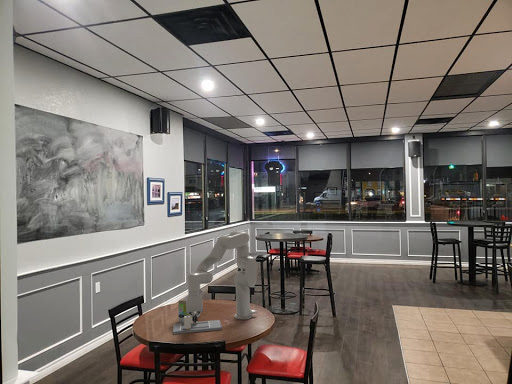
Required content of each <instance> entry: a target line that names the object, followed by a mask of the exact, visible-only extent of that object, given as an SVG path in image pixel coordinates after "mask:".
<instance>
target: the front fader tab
mask: <svg viewBox="0 0 512 384" xmlns="http://www.w3.org/2000/svg"><path fill="white" fill-rule="evenodd" d="M190 328H191V316H188V315H187V316H184V329H190Z"/></svg>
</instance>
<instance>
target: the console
mask: <svg viewBox="0 0 512 384" xmlns="http://www.w3.org/2000/svg"><path fill="white" fill-rule="evenodd" d="M222 329H223V326H222V323H221V319H217V320H216V319H214V320H205V321H203V320H202V321H197V324H191V328H190V329H184V323H182V322H178V323H174V324H173V328H172V335H179V334H189V333H190V334H191V333H201V332H202V333H203V332H211V331H212V332H213V331H221V330H222Z"/></svg>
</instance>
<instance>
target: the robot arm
mask: <svg viewBox="0 0 512 384" xmlns="http://www.w3.org/2000/svg"><path fill="white" fill-rule="evenodd" d="M249 241H250V235H249V233H248V232H245V231H238V230H232V231H231V232H230V233H229V235H220V236H219V237H218V238H217V240H216V242H215V243H214V246H213V247H212V249H211V251H210V253H209V254H208V255H207V256H206V257H205V258H204V259H203V260H201V262H200V263H199V265H198V266H197V268H196V270H195V272H191V273H188V275H187V295H186V296H187V300H186V313H187V314H190V315H191V316H192V321H194V323H196V321H197V322H198V318H197V316H198V314H199V313H200V314H201V313H203V312H204V308H203V307H204V306H203V305H204V304H203V302H204V301H203V290H201V285H207V284H210V283H212V281H213V279H214V277H213V276H214V275H213V274H212V272H209V271H208V270H209V269H210V268H211V267H213V265H215V264H217V263H219V262H221V261H222V259H223V257H224V255H225V253H226V251H227V250H234V249H236V267H237V268H238V269H240V270H238V271H237V272H236V273H235V275H234V278H233V280H234V284H235V299H236V300H235V302H236V303H235V304H236V306H235V307H236V308H235V309H236V313H235V314H234V315H233V316H234V318H235V319H236V320H249V319H251V318H253V314H258V311H257V310H255V309H251V297H250V296H251V295H250V294H251V293H250V292H251V291H250V290H251V289H250V288H253V287H254V286H255V285H256V284H257V281H258V280H257V278H258V263H257V260H256V258H254V257H253V256H250V249H249V248H250V247H249V244H248V242H249ZM193 312H196V314H195V315H194V313H193Z"/></svg>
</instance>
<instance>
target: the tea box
mask: <svg viewBox="0 0 512 384" xmlns="http://www.w3.org/2000/svg"><path fill="white" fill-rule="evenodd" d="M186 300H187V295H185V296H184V297H182V298H181V299H179V300H178V323H184V316H187V315H188V316H191V315H190V314H187V313H186ZM200 315H201V313H199V314H198V316H197V319H198V318H199V317H200Z"/></svg>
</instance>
